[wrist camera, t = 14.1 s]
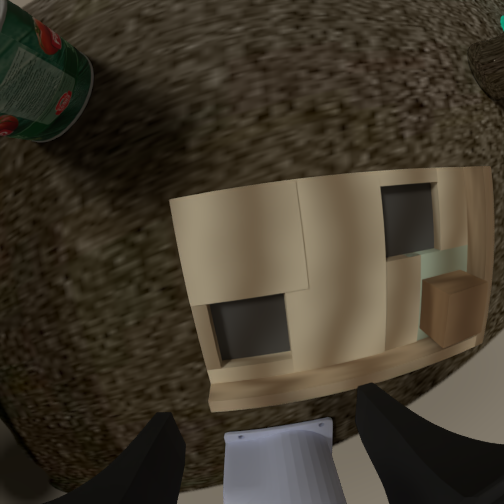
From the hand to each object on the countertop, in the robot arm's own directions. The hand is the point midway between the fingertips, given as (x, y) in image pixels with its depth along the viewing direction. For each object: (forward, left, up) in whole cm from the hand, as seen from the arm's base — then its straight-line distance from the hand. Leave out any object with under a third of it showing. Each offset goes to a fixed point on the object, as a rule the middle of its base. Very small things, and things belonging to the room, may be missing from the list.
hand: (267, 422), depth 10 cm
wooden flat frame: (+7, +2, -10) cm, 12 cm away
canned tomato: (-13, +19, -11) cm, 25 cm away
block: (+14, -1, -9) cm, 17 cm away
